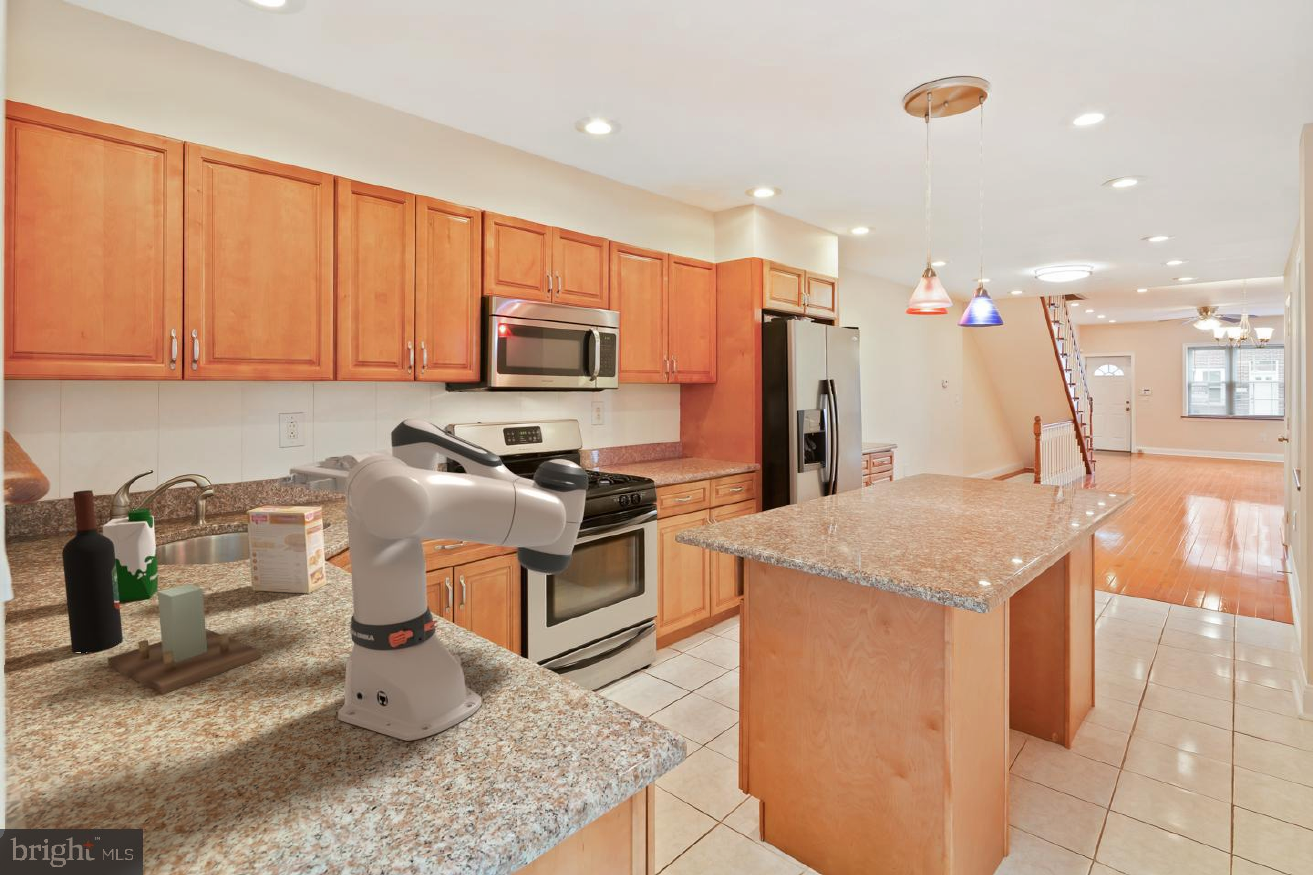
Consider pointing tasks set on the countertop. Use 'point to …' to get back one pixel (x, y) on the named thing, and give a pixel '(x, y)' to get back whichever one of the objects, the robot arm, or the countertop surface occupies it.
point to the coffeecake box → (286, 548)
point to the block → (182, 621)
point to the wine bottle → (91, 583)
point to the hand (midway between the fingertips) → (294, 484)
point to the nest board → (182, 662)
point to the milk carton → (134, 554)
